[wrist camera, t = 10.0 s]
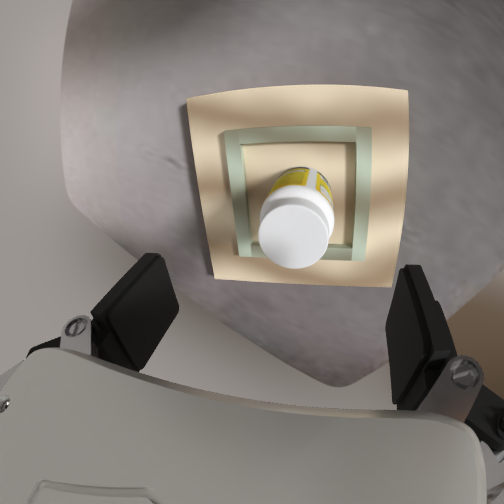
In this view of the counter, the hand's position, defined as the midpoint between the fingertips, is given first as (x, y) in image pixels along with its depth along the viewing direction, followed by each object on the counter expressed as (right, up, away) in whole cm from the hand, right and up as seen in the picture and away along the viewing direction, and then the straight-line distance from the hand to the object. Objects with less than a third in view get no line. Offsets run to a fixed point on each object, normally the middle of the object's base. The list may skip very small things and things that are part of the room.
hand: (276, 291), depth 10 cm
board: (+3, +7, +13) cm, 15 cm away
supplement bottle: (+3, +6, +12) cm, 14 cm away
